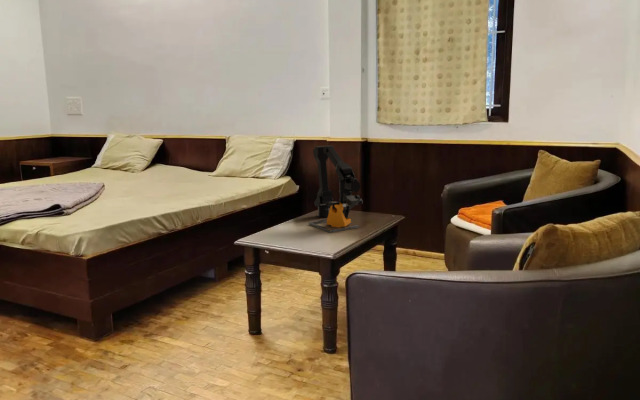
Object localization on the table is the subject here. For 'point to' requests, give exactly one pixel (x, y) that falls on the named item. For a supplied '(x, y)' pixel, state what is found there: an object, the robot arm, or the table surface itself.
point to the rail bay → (329, 229)
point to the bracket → (337, 217)
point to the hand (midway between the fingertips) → (345, 219)
